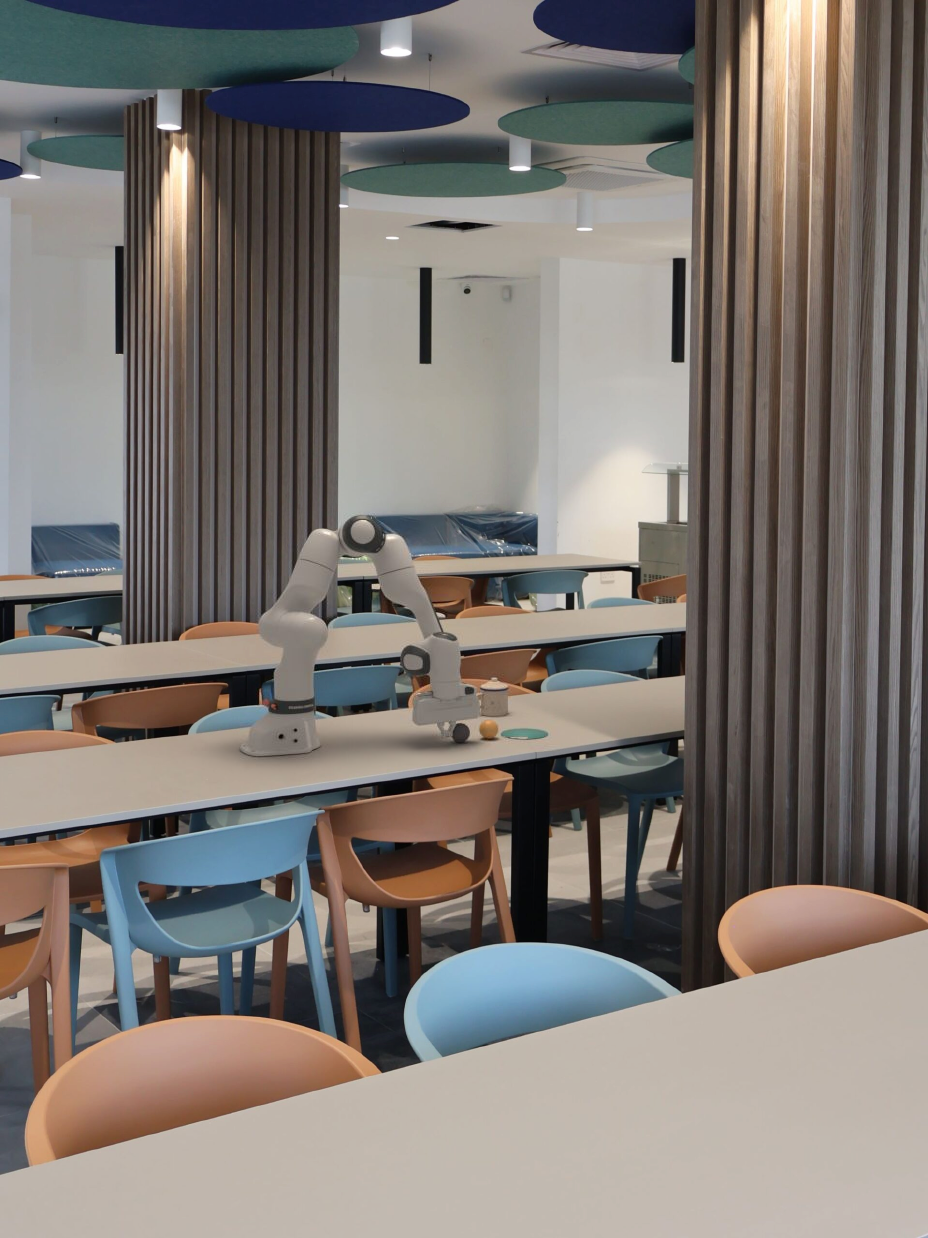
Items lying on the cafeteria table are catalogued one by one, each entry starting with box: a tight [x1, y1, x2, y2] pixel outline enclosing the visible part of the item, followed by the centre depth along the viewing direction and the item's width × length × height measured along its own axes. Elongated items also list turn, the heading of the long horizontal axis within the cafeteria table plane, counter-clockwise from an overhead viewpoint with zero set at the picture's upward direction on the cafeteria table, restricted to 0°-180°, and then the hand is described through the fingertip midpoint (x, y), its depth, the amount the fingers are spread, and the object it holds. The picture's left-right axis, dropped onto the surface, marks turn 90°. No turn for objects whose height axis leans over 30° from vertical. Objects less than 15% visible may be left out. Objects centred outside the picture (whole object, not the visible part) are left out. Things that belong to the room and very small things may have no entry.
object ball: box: [478, 719, 499, 740], centre depth 371 cm, size 6×6×6 cm
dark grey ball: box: [451, 722, 471, 743], centre depth 366 cm, size 6×6×6 cm
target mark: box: [500, 727, 549, 740], centre depth 376 cm, size 14×14×1 cm
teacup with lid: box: [475, 677, 509, 718], centre depth 404 cm, size 12×9×12 cm
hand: (446, 736), depth 364 cm, fingers closed
